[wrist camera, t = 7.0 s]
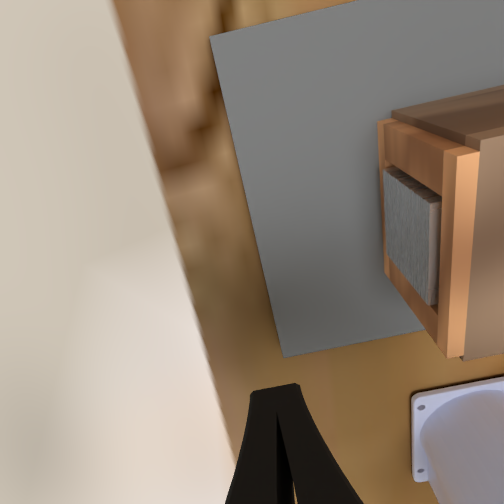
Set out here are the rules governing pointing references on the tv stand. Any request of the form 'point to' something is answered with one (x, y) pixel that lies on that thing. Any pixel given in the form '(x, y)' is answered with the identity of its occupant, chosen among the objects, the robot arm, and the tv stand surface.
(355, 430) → the tv stand surface
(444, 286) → the housing
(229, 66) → the mat
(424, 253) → the peg
